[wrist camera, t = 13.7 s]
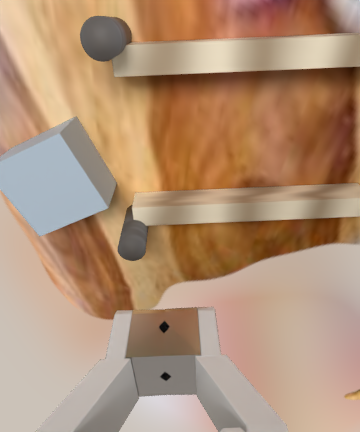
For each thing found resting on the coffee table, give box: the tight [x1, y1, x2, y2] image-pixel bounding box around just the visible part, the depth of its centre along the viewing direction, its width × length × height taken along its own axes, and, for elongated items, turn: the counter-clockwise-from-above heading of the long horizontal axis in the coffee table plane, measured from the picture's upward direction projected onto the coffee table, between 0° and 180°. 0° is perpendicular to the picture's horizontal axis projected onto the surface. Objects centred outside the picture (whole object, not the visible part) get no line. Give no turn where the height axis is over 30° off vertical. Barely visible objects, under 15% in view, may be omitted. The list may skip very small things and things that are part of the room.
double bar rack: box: [80, 16, 360, 261], centre depth 26 cm, size 23×18×6 cm
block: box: [0, 116, 117, 236], centre depth 28 cm, size 7×7×5 cm
